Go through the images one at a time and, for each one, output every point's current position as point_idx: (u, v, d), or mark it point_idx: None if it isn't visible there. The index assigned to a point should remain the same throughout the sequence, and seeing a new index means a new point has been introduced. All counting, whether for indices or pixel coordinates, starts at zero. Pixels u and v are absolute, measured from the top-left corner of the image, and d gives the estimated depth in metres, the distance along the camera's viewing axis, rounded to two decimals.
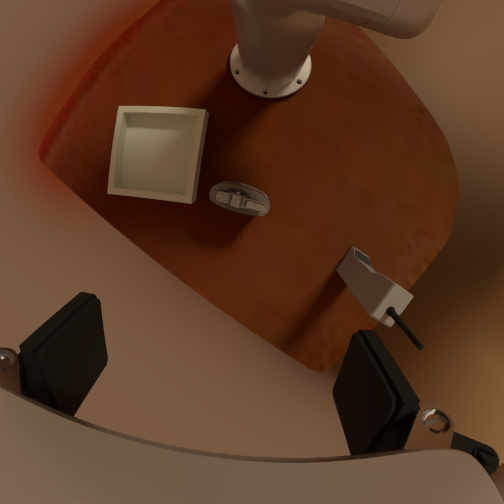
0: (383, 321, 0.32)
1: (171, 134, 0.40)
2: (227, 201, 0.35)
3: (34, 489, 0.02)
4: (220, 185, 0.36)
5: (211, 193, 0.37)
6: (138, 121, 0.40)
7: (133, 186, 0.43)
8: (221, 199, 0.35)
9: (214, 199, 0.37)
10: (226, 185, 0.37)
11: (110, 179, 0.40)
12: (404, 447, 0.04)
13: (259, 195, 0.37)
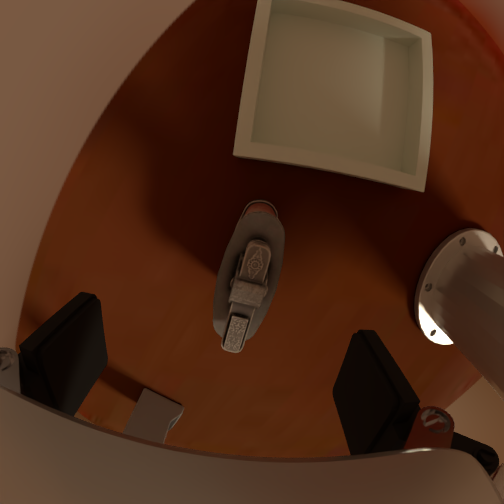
0: None
1: (373, 115, 0.19)
2: (244, 273, 0.14)
3: (34, 489, 0.02)
4: (281, 239, 0.15)
5: (261, 218, 0.15)
6: (398, 60, 0.17)
7: (270, 35, 0.18)
8: (248, 258, 0.14)
9: (246, 225, 0.15)
10: (280, 253, 0.16)
11: None
12: (404, 447, 0.04)
13: (258, 322, 0.17)
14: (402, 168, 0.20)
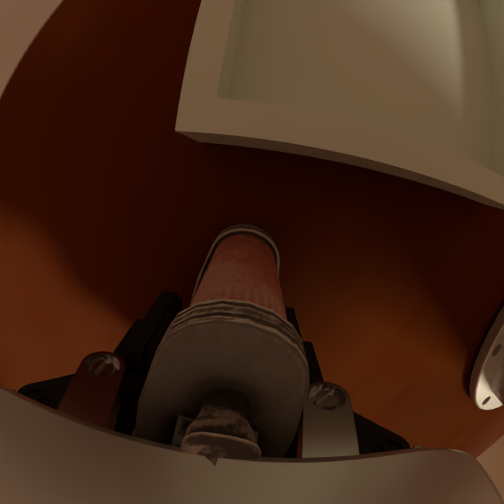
0: None
1: (449, 75, 0.08)
2: None
3: (34, 489, 0.02)
4: (296, 390, 0.05)
5: (231, 335, 0.04)
6: (467, 4, 0.07)
7: None
8: None
9: (183, 355, 0.04)
10: (293, 417, 0.05)
11: None
12: (303, 434, 0.05)
13: None
14: (492, 172, 0.09)
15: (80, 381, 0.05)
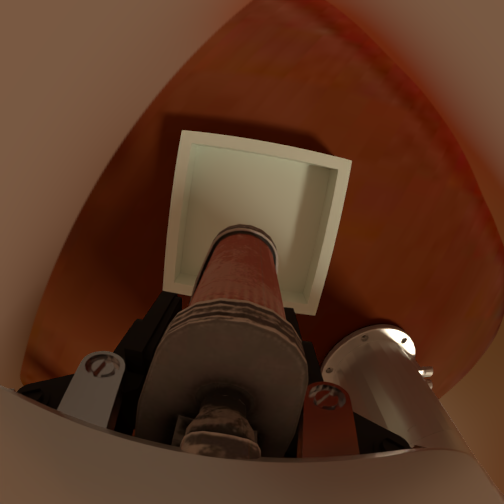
0: None
1: (282, 246, 0.26)
2: None
3: (34, 489, 0.02)
4: (295, 389, 0.05)
5: (231, 335, 0.04)
6: (315, 187, 0.25)
7: (195, 173, 0.25)
8: None
9: (183, 355, 0.04)
10: (292, 416, 0.05)
11: (208, 137, 0.21)
12: (303, 434, 0.05)
13: None
14: (304, 289, 0.27)
15: (80, 381, 0.05)
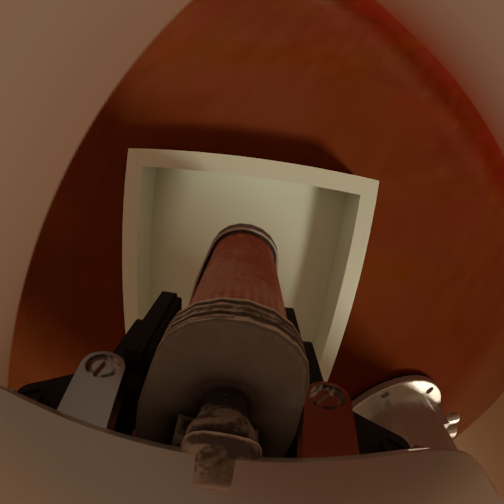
0: None
1: None
2: None
3: (34, 489, 0.02)
4: (296, 388, 0.05)
5: (231, 333, 0.04)
6: (325, 218, 0.18)
7: (157, 206, 0.18)
8: None
9: (184, 354, 0.04)
10: (293, 415, 0.05)
11: (165, 156, 0.14)
12: (303, 434, 0.05)
13: None
14: None
15: (80, 381, 0.05)
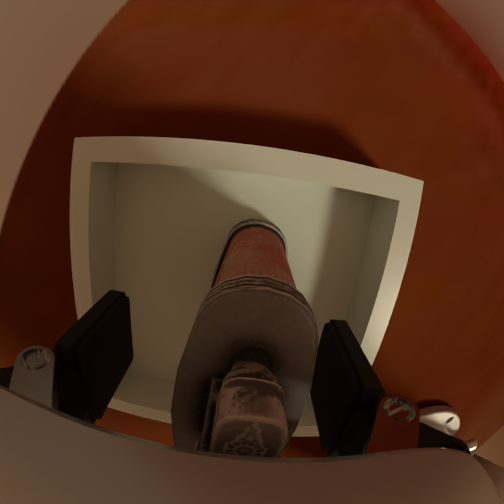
0: None
1: None
2: None
3: (34, 489, 0.02)
4: (308, 346, 0.06)
5: (256, 300, 0.06)
6: (346, 230, 0.13)
7: (119, 214, 0.13)
8: (224, 440, 0.04)
9: (218, 320, 0.06)
10: (307, 372, 0.06)
11: (120, 145, 0.09)
12: (370, 439, 0.05)
13: None
14: None
15: (12, 372, 0.05)
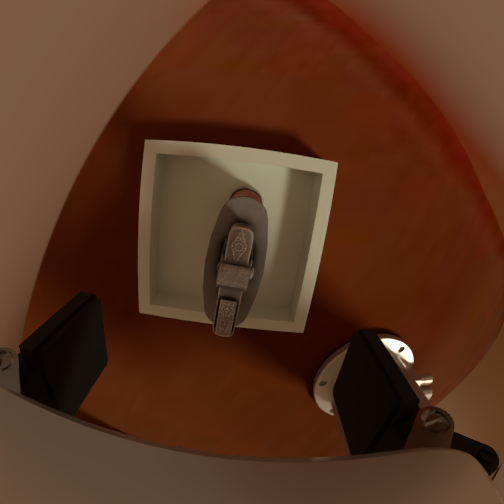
0: None
1: None
2: (229, 255, 0.14)
3: (34, 489, 0.02)
4: (264, 221, 0.16)
5: (243, 201, 0.15)
6: (298, 193, 0.23)
7: (165, 185, 0.22)
8: (232, 241, 0.14)
9: (229, 210, 0.15)
10: (265, 235, 0.16)
11: (174, 145, 0.19)
12: (404, 447, 0.04)
13: (248, 306, 0.17)
14: (291, 303, 0.25)
15: None
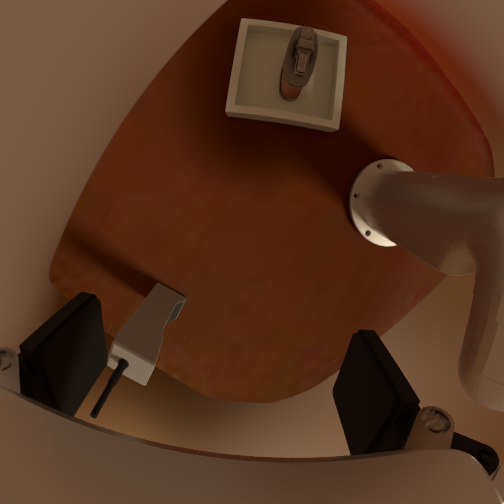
0: (110, 356, 0.26)
1: (308, 89, 0.33)
2: (303, 36, 0.23)
3: (34, 489, 0.02)
4: (315, 36, 0.24)
5: None
6: (326, 56, 0.31)
7: (247, 46, 0.31)
8: (304, 31, 0.23)
9: (298, 30, 0.24)
10: (316, 42, 0.25)
11: (258, 21, 0.28)
12: (404, 447, 0.04)
13: (310, 74, 0.26)
14: (327, 119, 0.34)
15: None
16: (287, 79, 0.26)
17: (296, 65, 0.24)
